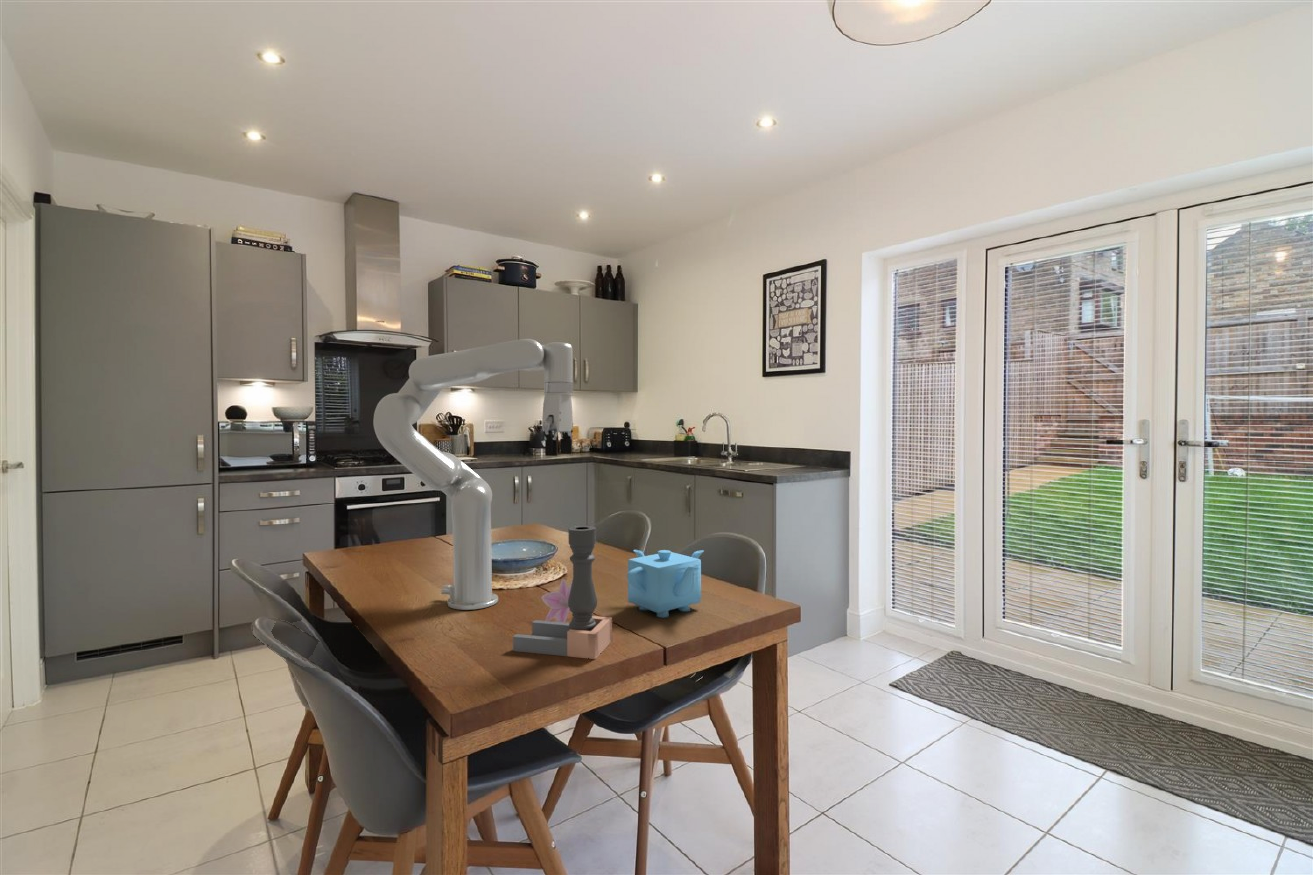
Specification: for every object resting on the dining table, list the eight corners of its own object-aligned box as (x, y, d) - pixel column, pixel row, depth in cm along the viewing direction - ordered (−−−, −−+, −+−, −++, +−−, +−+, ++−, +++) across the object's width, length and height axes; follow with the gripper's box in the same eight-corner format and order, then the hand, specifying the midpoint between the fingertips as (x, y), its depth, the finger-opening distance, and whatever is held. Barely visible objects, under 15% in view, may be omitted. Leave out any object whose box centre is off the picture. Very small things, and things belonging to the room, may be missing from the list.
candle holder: (568, 641, 131) (568, 525, 131) (597, 640, 132) (597, 525, 131) (567, 652, 125) (566, 531, 124) (597, 651, 126) (596, 530, 125)
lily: (542, 617, 150) (529, 589, 146) (585, 594, 154) (573, 566, 149) (557, 648, 140) (543, 618, 136) (602, 622, 144) (591, 592, 139)
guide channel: (513, 650, 126) (512, 626, 126) (535, 633, 136) (535, 611, 136) (595, 659, 122) (595, 634, 122) (612, 640, 132) (612, 617, 132)
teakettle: (623, 620, 145) (623, 558, 145) (633, 596, 164) (633, 542, 164) (703, 622, 144) (703, 560, 143) (703, 598, 162) (703, 543, 162)
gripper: (558, 391, 171) (558, 452, 172) (531, 388, 154) (531, 456, 155) (583, 391, 169) (584, 452, 170) (558, 388, 152) (559, 456, 153)
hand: (559, 454), depth 162 cm, fingers open, 9 cm apart
